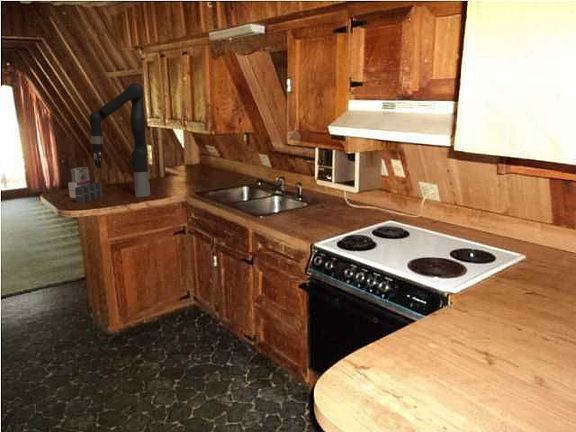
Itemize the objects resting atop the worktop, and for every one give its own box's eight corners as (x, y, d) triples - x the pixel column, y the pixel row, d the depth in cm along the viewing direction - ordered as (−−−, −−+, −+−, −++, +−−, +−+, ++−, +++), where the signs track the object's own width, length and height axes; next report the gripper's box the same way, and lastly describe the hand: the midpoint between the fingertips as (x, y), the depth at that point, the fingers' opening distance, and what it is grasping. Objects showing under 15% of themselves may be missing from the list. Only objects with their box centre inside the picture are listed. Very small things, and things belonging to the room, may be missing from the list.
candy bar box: (87, 188, 337) (85, 166, 332) (91, 189, 334) (88, 167, 329) (72, 190, 328) (70, 168, 324) (76, 191, 325) (73, 169, 321)
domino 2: (84, 200, 303) (83, 185, 300) (91, 200, 302) (89, 185, 299) (82, 200, 301) (81, 186, 298) (89, 201, 300) (87, 186, 297)
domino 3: (90, 198, 309) (89, 183, 306) (97, 198, 308) (95, 184, 305) (88, 198, 307) (87, 184, 304) (95, 199, 306) (93, 184, 303)
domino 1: (78, 202, 298) (76, 187, 295) (85, 202, 296) (83, 187, 294) (76, 202, 296) (74, 187, 293) (83, 203, 294) (81, 188, 292)
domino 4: (96, 196, 314) (95, 181, 312) (102, 196, 313) (101, 182, 310) (94, 196, 312) (93, 182, 310) (100, 197, 311) (99, 183, 308)
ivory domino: (72, 196, 311) (70, 182, 309) (78, 197, 310) (76, 182, 308) (69, 197, 310) (68, 182, 307) (76, 197, 308) (74, 183, 306)
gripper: (105, 144, 301) (106, 168, 305) (100, 141, 312) (101, 164, 316) (93, 144, 297) (94, 168, 301) (88, 141, 308) (89, 165, 312)
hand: (97, 166), depth 309 cm, fingers open, 8 cm apart
